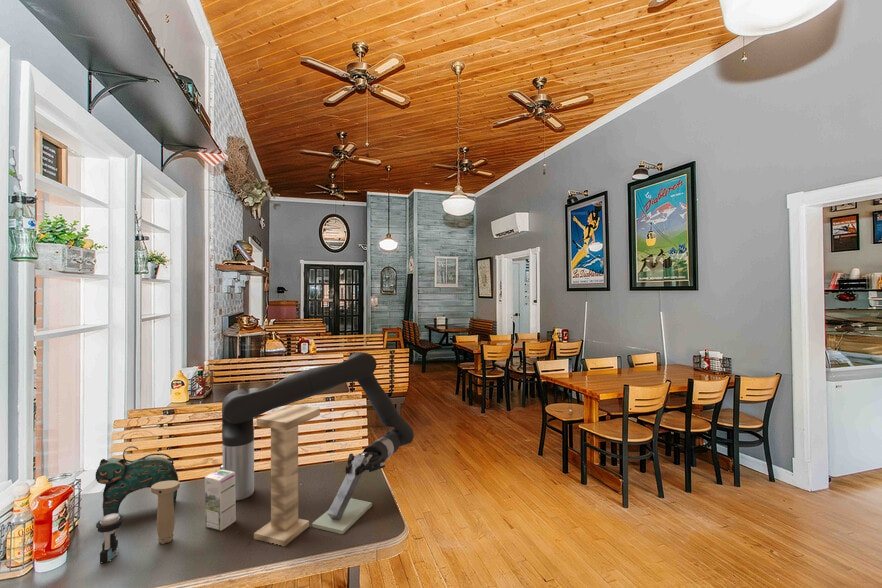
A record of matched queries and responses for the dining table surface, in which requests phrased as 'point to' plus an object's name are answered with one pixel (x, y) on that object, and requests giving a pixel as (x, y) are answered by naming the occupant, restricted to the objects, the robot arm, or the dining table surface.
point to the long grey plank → (346, 490)
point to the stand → (284, 473)
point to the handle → (165, 509)
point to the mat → (343, 517)
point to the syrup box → (220, 499)
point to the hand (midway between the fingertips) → (351, 471)
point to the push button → (109, 535)
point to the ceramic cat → (132, 477)
